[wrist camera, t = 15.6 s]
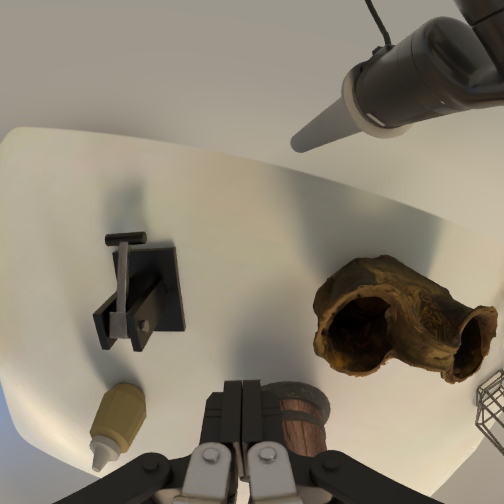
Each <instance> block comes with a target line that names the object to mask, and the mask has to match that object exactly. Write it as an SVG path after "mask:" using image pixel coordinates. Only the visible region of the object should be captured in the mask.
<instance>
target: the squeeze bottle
mask: <svg viewBox="0 0 504 504" xmlns="http://www.w3.org/2000/svg"><path fill="white" fill-rule="evenodd" d="M145 418H146V404H145V396H144V394H143V392H142V391H141V390H139V389H138V388H137V387H135V386H133V385H132V384H127V383H120V384H119V385H117V386H115V387H114V388H112V389H111V390H109V391H108V392H106V393H105V394H104V396H103V399H102V401H101V404H100V406H99V409H98V411H97V414H96V417H95V419H94V422H93V424H92V427H91V430H90V435H91V437H92V441H91V443H90V445H89V446H90V449H91V450H92V452H93V453H94V458H93V465H92V469H93V470H94V471H96V472H100V471H101V469H102V468H103V467H104V466H105V465H106V463H107V462H108V461H117V460H118V458H119V455H120V454H121V453H125V452H127V451H128V449H129V447H130V445H131V444H132V442H133V440H134V438H135V436H136V434H137V433H138V431H139V429H140V427H141V425H142V424H143V422H144V420H145Z"/></svg>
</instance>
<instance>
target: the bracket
mask: <svg viewBox="0 0 504 504" xmlns="http://www.w3.org/2000/svg"><path fill="white" fill-rule="evenodd" d="M112 254H113V261H114V267H115V273H116V279H117V276H118V258H119V251H114V252H113V253H112ZM110 312H117V291H116V292H115V293H114V294H113V295H112V296H111V297H110V298H109V299H108V300H107V301H106V302H105V303H104V304H103V305H102V306H101V307H100V308H99V309H98V310H97V311H95V312H94V313H93V318H94V322H95V326H96V330H97V333H98V337H99V341H100V344H101V347H102V350H110V348H111V347H112V346H113V344H114V343H115V342H116V340H117V339H118V338H110V325H109V318H110ZM125 316H126V321H127V325H128V330H129V334H130V338H131V342H132V346H133V350H134V351H136V352H142V351H143V349H144V347H145V345H146V343H147V342H148V340H149V338H150V336H151V334H152V333H153V331H185V329H186V325H185V318H184V312H183V305H182V297H181V290H180V282H179V274H178V265H177V257H176V248H175V247H174V248H155V249H137V250H130V267H129V299H128V312H127V314H126V315H125Z"/></svg>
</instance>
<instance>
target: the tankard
mask: <svg viewBox="0 0 504 504" xmlns="http://www.w3.org/2000/svg"><path fill="white" fill-rule="evenodd" d="M271 390H273V391H274V392H275V393H276V394H277V396H278V397H279V400H280V409H281V416H282V424H283V431H284V439H285V444H286V446H287V447H288V449H290V450H291V451H292V452H294V453H296V454H298V455H302V456H309V457H314V456H316V455H317V454H318V453H320V452H323V451H327V447H326V442H325V440H326V433H325V428H324V425H325V424H326V422H327V420H328V418H329V415H330V403H329V401H328V398H327V397H326V396H325V395H324V393H323V392H321V391H320V390H319V389H317V388H315V387H313V386H311V385H308V384H304V383H299V382H279V383H274V384H269V385H266V386H263V387H261V391H271ZM239 478H240V480H241V481H243V482H248V483H249V488H250V497H249V501H248V504H253V503H252V494H251V485H250V476H246V472H245V464H244V476H242V477H239Z"/></svg>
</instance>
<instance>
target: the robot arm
mask: <svg viewBox="0 0 504 504" xmlns="http://www.w3.org/2000/svg"><path fill="white" fill-rule="evenodd" d="M453 1H454V2H455V4H456V6H457V7H458V9H459V11H460V12H461V14H462V15H463V17H464V18H465V20H466V21H467V23H468V24H469V25H470V26H471V27H472V28H471V27H470V26H468V25H467V24H465V23H464V22H462V21H460V20H457V19H455V18H451V17H444V16H442V17H436V18H433V19H431V20H429V21H427V22H426V23H424V24H423V25H422V26H420V27H419V28H418V29H416V30H415V31H414V32H413V33H411V34H410V35H409V36H407V37H406V38H405V39H404V40H402V41H401V42H400V43H398V44H397V45H391V41H390V37H389V34H388V32H387V31H386V29H385V27H384V25H383V23H382V21H381V20H380V18H379V16H378V14H377V12H376V10H375V8H374V6H373V4H372V2H371V0H365V2H366V4H367V6H368V8H369V10H370V12H371V14H372V16H373V18H374V20H375V22H376V24H377V25H378V27H379V29H380V31H381V33H382V35H383V37H384V41H385V46H384V47H380V46H378V47H377V48H376V49H375V50H373V51H372V54H373V56H372V57H371V58H370V59H369V60H368V61H367V62H365V63H364V64H363V65H362V66H361V67H360V74H359V75H358V76H357V77H356V79H355V81H354V84H353V88H352V95H353V100H354V103H355V106H356V108H357V110H358V111H359V113H360V114H361V116H362V117H363V118H364V119H365V120H366V121H368V122H369V123H370V124H372V125H374V126H376V127H378V128H382V129H394V128H398V127H400V126H403V125H407V124H411V123H414V122H418V121H422V120H426V119H431V118H435V117H439V116H444V115H448V114H452V113H456V112H461V111H466V110H471V109H482V108H489V107H495V106H504V0H453ZM244 464H245V472H246V476H250V485H251V494H252V503H253V504H444V503H442V502H439V501H437V500H435V499H432V498H430V497H428V496H425V495H423V494H421V493H419V492H417V491H415V490H412V489H410V488H408V487H406V486H404V485H402V484H400V483H398V482H396V481H394V480H392V479H390V478H388V477H386V476H384V475H382V474H380V473H378V472H377V471H375V470H373V469H371V468H369V467H367V466H365V465H364V464H362V463H360V462H358V461H357V460H355V459H353V458H351V457H350V456H348V455H346V454H344V453H342V452H340V451H336V450H327V451H323V452H320V453H318V454H317V455H316V456H314V457H309V456H302V455H298V454H296V453H294V452H292V451H291V450H290V449H288V447H287V446H286V444H285V439H284V431H283V424H282V416H281V409H280V400H279V397H278V396H277V394H276V393H275V392H274V391H273V390H271V391H261V386H260V380H243V385H242V380H236V381H225V382H224V391H223V392H213V393H212V394H211V395H210V396H209V398H208V399H207V401H206V407H205V412H204V418H203V425H202V431H201V437H200V443H199V446H198V447H196V448H195V449H194V451H193V452H192V454H190V455H188V456H186V457H183V458H178V459H172V460H168V459H167V458H166V457H165V456H164V455H162V454H159V453H153V452H151V453H145V454H142V455H140V456H138V457H137V458H135V459H133V460H132V461H130V462H129V463H127V464H125V465H124V466H122V467H120V468H118V469H117V470H115V471H113V472H112V473H110V474H108V475H106V476H105V477H103V478H101V479H99V480H97V481H96V482H94V483H92V484H90V485H88V486H86V487H85V488H83V489H81V490H79V491H77V492H75V493H73V494H71V495H69V496H67V497H65V498H63V499H61V500H59V501H57V502H55V503H53V504H236V500H237V489H238V477H242V476H244Z"/></svg>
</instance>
